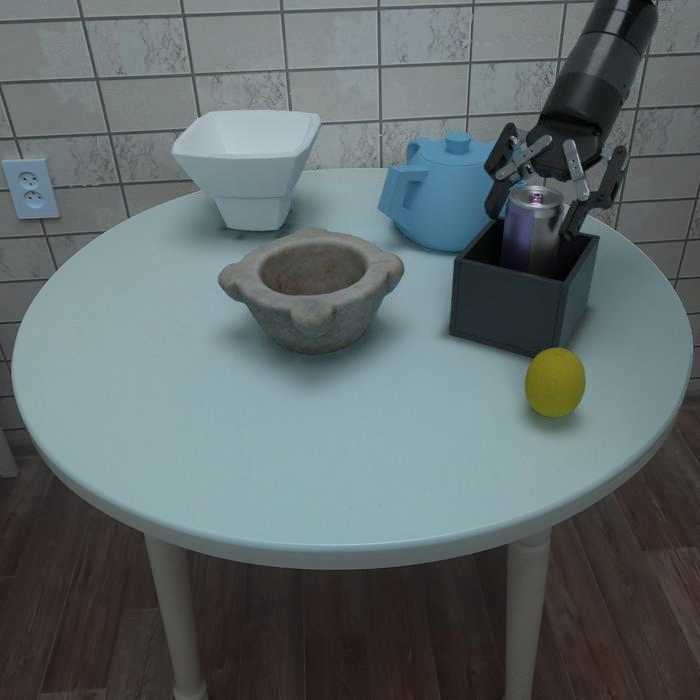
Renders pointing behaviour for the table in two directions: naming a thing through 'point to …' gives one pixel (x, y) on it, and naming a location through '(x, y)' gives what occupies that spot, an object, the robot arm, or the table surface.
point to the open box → (520, 294)
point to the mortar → (313, 287)
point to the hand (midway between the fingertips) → (525, 227)
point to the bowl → (248, 162)
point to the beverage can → (532, 230)
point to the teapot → (441, 191)
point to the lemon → (555, 382)
